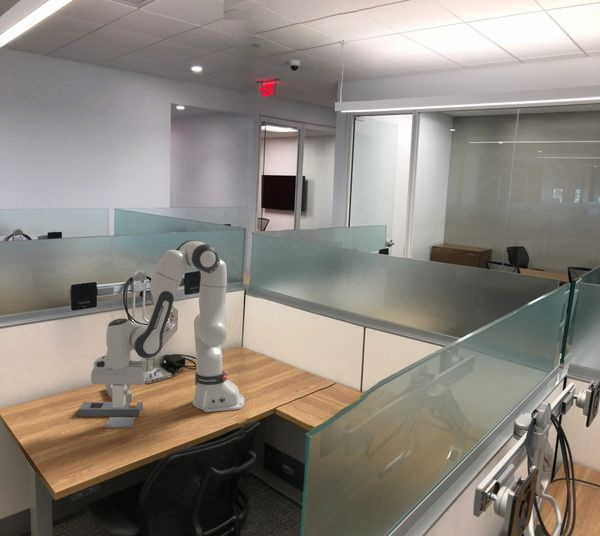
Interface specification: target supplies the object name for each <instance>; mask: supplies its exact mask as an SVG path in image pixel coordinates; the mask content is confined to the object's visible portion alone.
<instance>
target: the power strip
mask: <svg viewBox="0 0 600 536" xmlns="http://www.w3.org/2000/svg"><path fill="white" fill-rule="evenodd" d="M143 410H144V402H143V401H131V402H126V404H125V405H124V407H123V408H112V401H83V402H82V404H81V405H80V407H78V409H77V414H78V417H140V415H141V413H142V411H143Z"/></svg>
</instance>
